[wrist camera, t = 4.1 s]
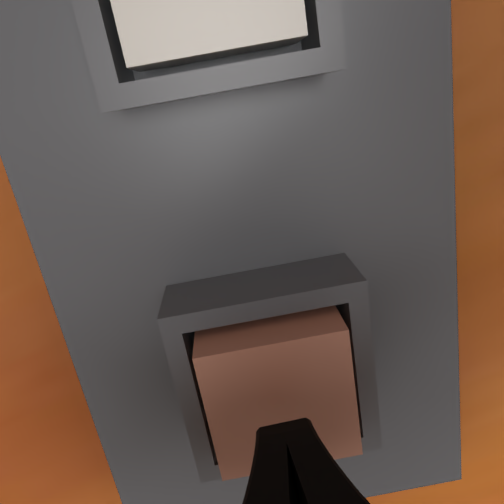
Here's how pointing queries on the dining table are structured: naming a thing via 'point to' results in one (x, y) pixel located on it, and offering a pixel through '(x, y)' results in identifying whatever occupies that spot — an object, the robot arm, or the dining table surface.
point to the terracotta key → (277, 383)
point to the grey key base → (243, 224)
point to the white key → (203, 29)
